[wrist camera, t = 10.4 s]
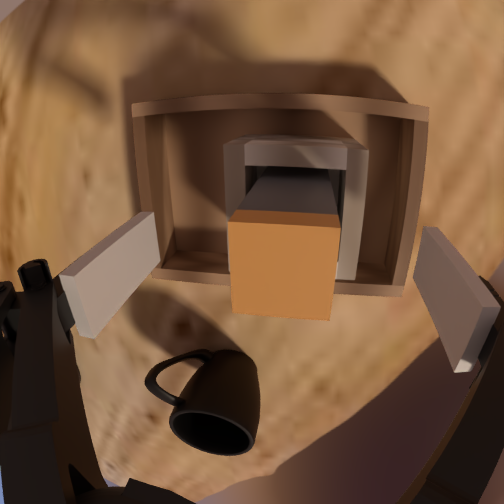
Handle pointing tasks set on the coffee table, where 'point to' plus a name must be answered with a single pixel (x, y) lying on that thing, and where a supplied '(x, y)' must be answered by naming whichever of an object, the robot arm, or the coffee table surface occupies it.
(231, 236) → the connector
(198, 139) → the box
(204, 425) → the mug
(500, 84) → the coffee table surface
